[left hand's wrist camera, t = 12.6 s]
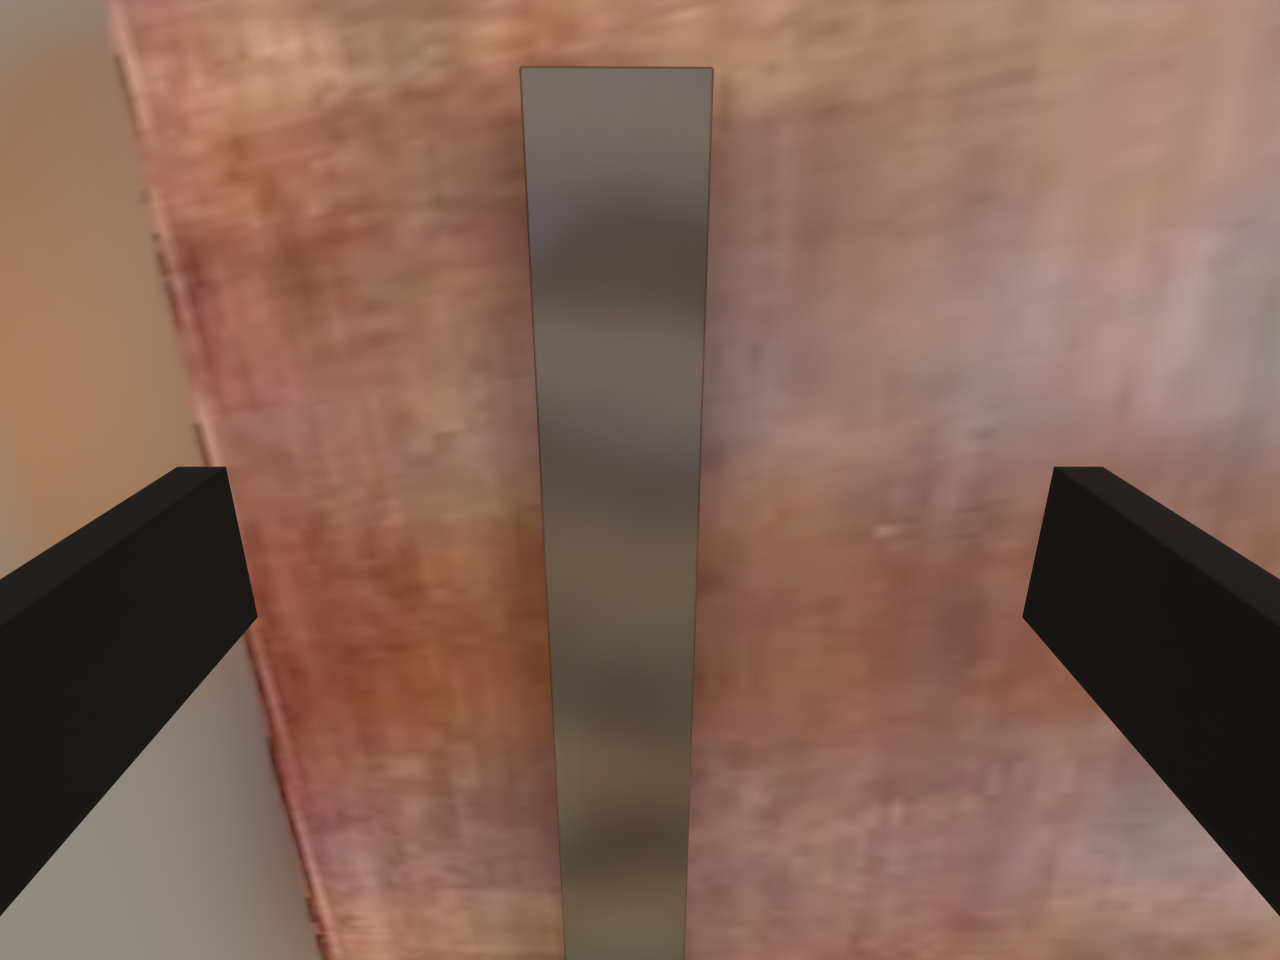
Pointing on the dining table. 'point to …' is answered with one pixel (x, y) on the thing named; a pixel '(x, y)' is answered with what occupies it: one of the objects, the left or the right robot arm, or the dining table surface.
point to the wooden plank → (620, 477)
